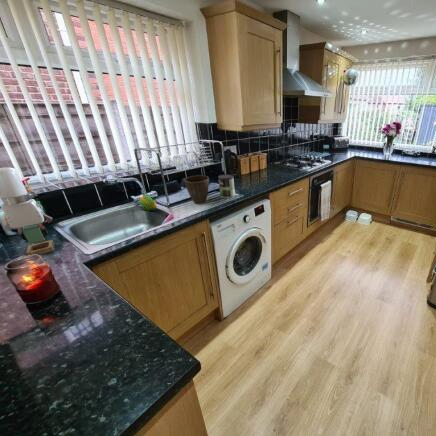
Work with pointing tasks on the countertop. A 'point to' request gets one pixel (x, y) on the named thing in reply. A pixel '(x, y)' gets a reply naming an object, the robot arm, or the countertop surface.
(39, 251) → the base pad
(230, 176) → the coffee can
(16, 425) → the countertop surface
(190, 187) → the flower pot
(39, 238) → the green pad
